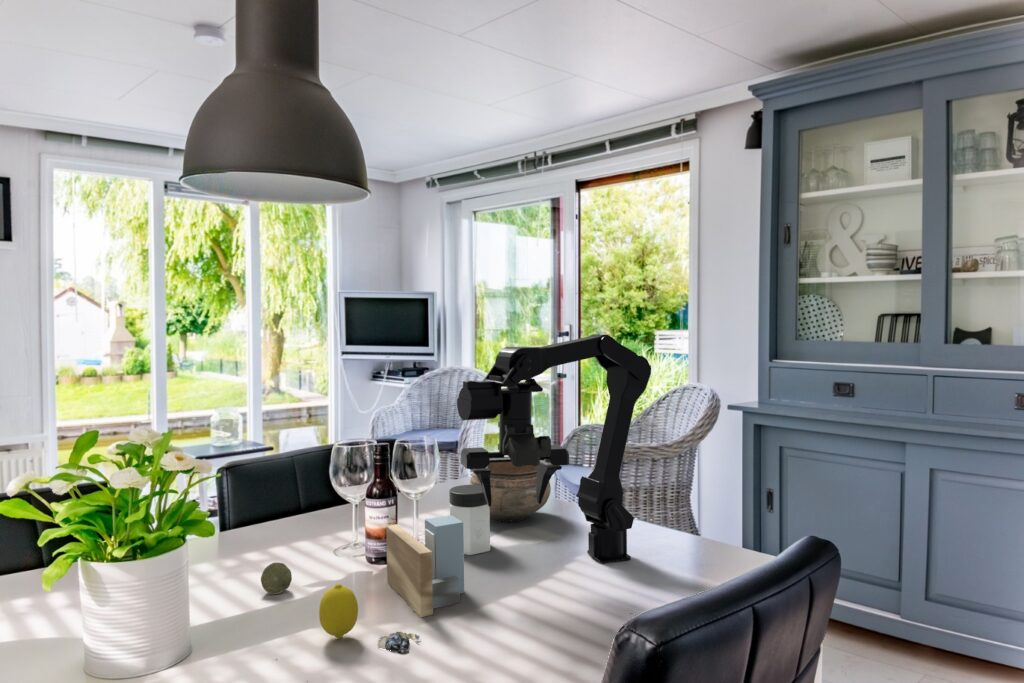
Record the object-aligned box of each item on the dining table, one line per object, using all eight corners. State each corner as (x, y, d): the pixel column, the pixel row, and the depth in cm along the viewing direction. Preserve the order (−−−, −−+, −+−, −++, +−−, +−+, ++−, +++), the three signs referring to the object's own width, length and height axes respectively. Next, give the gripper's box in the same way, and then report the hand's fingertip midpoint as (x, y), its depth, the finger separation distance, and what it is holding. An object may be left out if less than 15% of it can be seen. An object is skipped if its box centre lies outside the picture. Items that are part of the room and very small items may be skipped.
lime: (295, 591, 123) (295, 562, 123) (269, 599, 119) (268, 569, 119) (283, 584, 126) (283, 556, 126) (257, 592, 123) (256, 563, 122)
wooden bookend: (427, 574, 130) (426, 519, 130) (465, 607, 115) (464, 546, 114) (387, 581, 126) (386, 525, 126) (420, 617, 111) (419, 553, 111)
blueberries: (411, 632, 107) (411, 620, 107) (436, 653, 100) (435, 640, 100) (368, 644, 103) (368, 631, 103) (391, 667, 97) (390, 653, 97)
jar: (461, 558, 138) (460, 496, 138) (441, 547, 145) (440, 488, 145) (500, 549, 143) (499, 490, 143) (479, 539, 150) (478, 482, 150)
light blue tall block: (452, 582, 126) (451, 515, 125) (464, 592, 121) (463, 522, 121) (424, 588, 123) (423, 519, 123) (435, 598, 119) (434, 526, 118)
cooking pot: (452, 510, 173) (452, 459, 173) (523, 500, 181) (522, 452, 181) (494, 538, 150) (493, 480, 150) (572, 526, 158) (572, 471, 158)
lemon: (323, 631, 107) (322, 578, 107) (360, 629, 107) (359, 576, 107) (316, 648, 101) (315, 592, 101) (356, 646, 102) (354, 590, 102)
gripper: (474, 425, 117) (473, 519, 117) (581, 422, 122) (579, 513, 123) (460, 416, 128) (459, 503, 128) (559, 414, 133) (557, 497, 133)
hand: (514, 504), depth 128 cm, fingers open, 9 cm apart
